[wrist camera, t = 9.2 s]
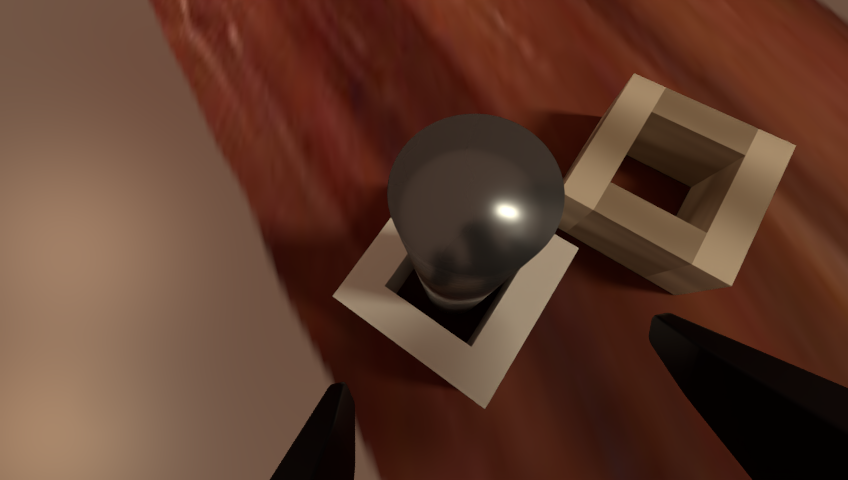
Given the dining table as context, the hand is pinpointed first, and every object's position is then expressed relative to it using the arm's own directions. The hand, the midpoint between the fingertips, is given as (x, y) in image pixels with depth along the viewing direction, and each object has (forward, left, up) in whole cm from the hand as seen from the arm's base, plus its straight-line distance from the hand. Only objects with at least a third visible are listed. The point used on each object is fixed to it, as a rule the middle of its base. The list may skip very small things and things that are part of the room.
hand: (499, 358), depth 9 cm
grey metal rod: (+2, +3, -8) cm, 9 cm away
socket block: (+2, +3, -8) cm, 9 cm away
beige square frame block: (+12, -3, -8) cm, 15 cm away
